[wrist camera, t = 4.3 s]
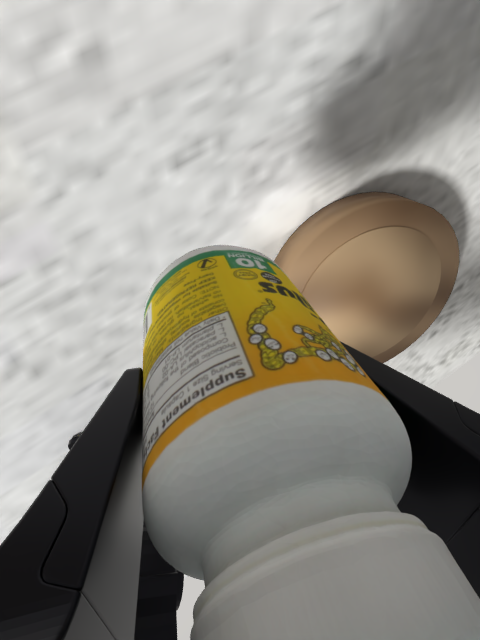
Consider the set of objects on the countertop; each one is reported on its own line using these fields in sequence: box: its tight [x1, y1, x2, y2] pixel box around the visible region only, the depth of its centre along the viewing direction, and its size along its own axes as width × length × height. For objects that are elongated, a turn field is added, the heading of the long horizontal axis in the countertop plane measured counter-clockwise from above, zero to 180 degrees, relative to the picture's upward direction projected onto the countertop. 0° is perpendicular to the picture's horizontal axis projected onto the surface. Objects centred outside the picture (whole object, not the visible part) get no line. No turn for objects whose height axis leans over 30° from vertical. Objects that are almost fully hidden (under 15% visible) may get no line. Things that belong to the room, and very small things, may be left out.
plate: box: [274, 192, 459, 363], centre depth 24 cm, size 14×14×3 cm
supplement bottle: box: [142, 245, 480, 640], centre depth 8 cm, size 5×5×10 cm
